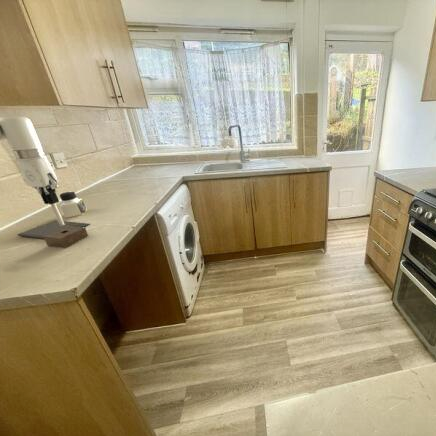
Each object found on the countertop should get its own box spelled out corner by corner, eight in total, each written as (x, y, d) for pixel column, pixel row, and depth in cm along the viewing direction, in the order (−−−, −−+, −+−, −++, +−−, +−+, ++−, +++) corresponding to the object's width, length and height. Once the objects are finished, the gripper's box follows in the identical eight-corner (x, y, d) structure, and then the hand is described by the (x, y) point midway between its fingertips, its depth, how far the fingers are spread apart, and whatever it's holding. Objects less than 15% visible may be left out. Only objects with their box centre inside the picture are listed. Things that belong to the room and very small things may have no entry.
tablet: (56, 240, 101) (55, 238, 101) (18, 235, 106) (17, 233, 106) (91, 225, 115) (90, 223, 114) (55, 221, 119) (55, 220, 119)
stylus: (61, 225, 97) (45, 189, 91) (59, 225, 97) (42, 189, 91) (65, 224, 98) (49, 188, 92) (63, 224, 98) (47, 188, 92)
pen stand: (65, 248, 95) (61, 238, 93) (47, 246, 97) (42, 236, 95) (89, 237, 103) (85, 227, 102) (71, 235, 106) (67, 225, 104)
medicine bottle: (82, 215, 126) (72, 193, 120) (65, 218, 123) (54, 196, 118) (87, 210, 132) (77, 189, 127) (71, 213, 129) (60, 191, 124)
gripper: (1, 155, 85) (25, 205, 92) (34, 156, 81) (57, 207, 89) (26, 152, 91) (48, 198, 99) (58, 152, 88) (77, 200, 95)
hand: (52, 202), depth 94 cm, fingers closed on stylus, 1 cm apart
